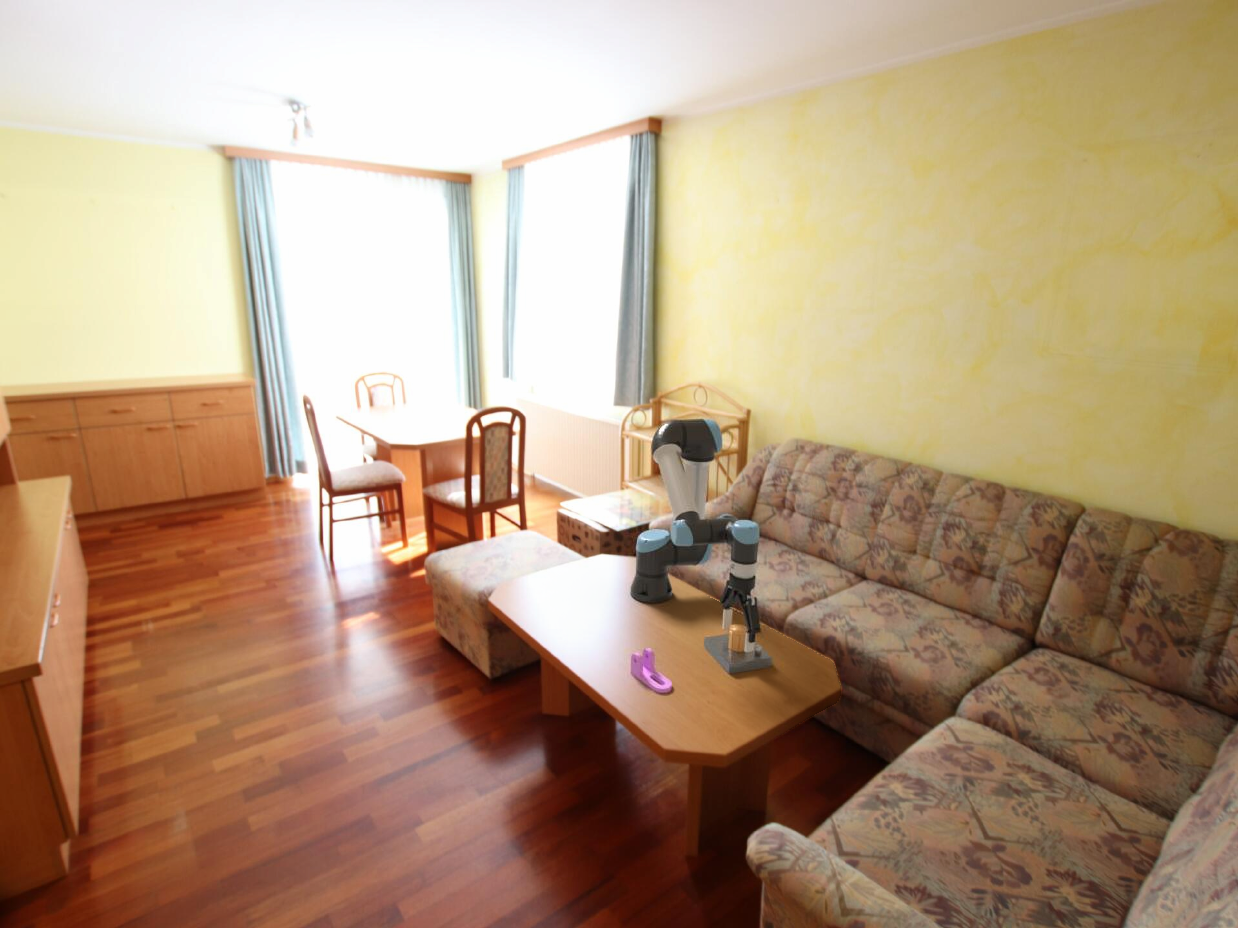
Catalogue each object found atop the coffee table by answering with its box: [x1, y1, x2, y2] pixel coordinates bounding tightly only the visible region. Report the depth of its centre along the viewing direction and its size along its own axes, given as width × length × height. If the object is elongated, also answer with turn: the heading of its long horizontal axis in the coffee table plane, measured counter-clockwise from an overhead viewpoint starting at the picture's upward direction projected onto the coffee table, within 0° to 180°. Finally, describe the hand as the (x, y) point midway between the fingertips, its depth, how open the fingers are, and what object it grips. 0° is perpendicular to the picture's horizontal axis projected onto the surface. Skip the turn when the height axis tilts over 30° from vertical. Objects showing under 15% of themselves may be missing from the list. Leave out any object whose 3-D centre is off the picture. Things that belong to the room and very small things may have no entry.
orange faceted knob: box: [728, 623, 748, 652], centre depth 193 cm, size 5×5×6 cm
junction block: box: [703, 633, 773, 675], centre depth 193 cm, size 16×14×7 cm
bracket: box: [630, 647, 673, 694], centre depth 180 cm, size 13×6×7 cm, turn 37°
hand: (737, 639), depth 193 cm, fingers open, 13 cm apart
